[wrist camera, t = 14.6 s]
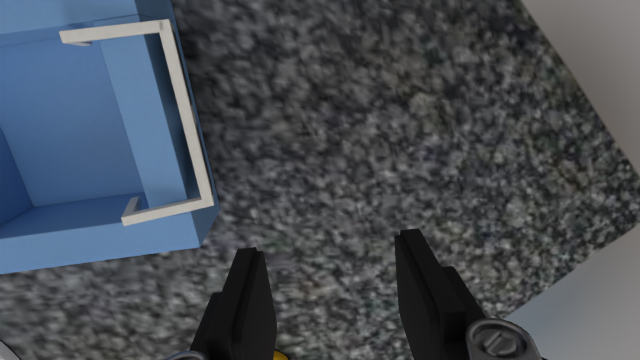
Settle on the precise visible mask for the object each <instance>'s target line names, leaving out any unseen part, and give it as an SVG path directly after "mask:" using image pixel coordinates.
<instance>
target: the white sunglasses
mask: <svg viewBox="0 0 640 360" xmlns="http://www.w3.org/2000/svg"><path fill="white" fill-rule="evenodd" d="M152 33H159V34H160V38H161V42H162V46H163V50H164V54H165V58H166V62H167V66H168V70H169V73H170V77H171V81H172V85H173V89H174V93H175V97H176V101H177V105H178V108H179V112H180V116H181V120H182V124H183V128H184V133H185V137H186V141H187V144H188V148H189V152H190V156H191V160H192V164H193V168H194V172H195V176H196V180H197V184H198V188H199V192H200V196H201V197H198V198H193V199H189V200H184V201H180V202H175V203H171V204H167V205H162V206H158V207H153V208H149V209H144V210H140V211H139V209H140V207H141V204H142V202H141V199H140V197H139V196H138V197H133V198H131V199H130V201H129V203H128V205H127V207H126V209H125V211H124V213H123V215H122V217H121V219H122V222H123V225H124V226H127V225H131V224H136V223H140V222H144V221H149V220H153V219H157V218H162V217H166V216H170V215H175V214H179V213H183V212H188V211H192V210H196V209H201V208H205V207H209V206H213V205H214V198H213V189H212V183H211V179H210V175H209V171H208V167H207V162H206V158H205V154H204V150H203V146H202V142H201V138H200V133H199V129H198V125H197V122H196V118H195V114H194V110H193V106H192V100H191V96H190V92H189V88H188V84H187V80H186V75H185V71H184V67H183V63H182V59H181V55H180V51H179V46H178V42H177V38H176V34H175V31H174V27H173V25H172V23H171V22H170V20H169V19H163V20H154V21H145V22H136V23H127V24H118V25H109V26H100V27H91V28H82V29H73V30H64V31H59V34H60V37H61V40H62V43H65V44H72V45H79V46H89V45H92V41H94V40H102V39H110V38H119V37H127V36H135V35H144V34H152Z"/></svg>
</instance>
